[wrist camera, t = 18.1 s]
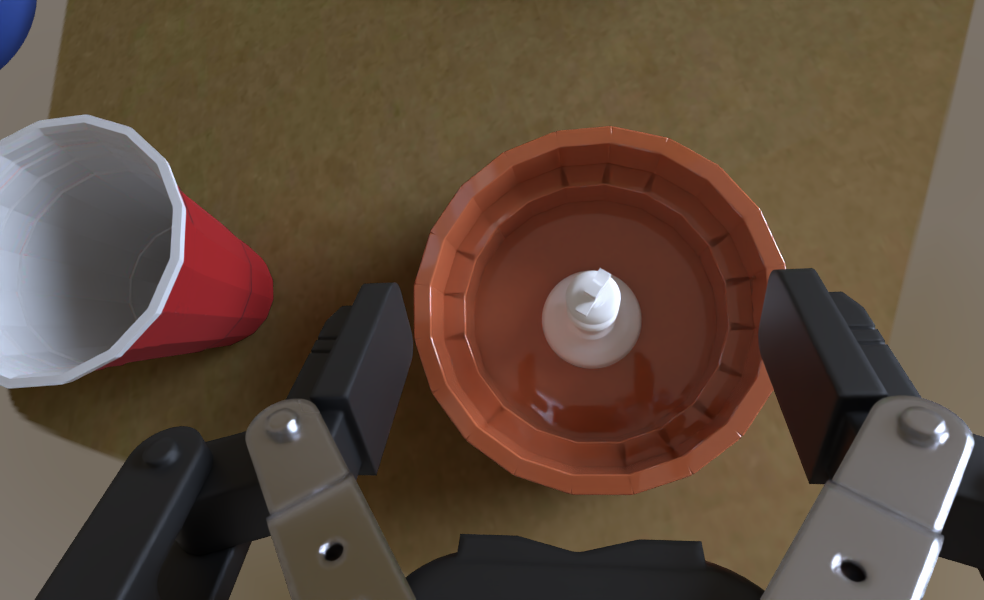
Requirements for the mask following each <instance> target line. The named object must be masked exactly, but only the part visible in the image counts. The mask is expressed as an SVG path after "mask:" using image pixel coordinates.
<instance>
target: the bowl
mask: <svg viewBox="0 0 984 600" xmlns="http://www.w3.org/2000/svg"><path fill="white" fill-rule="evenodd" d="M430 232H431V233H430V234H429V237H428V240H427V243H426V246H425V250H424V253H423V256H422V259H421V263H420V266H419V269H418V273H417V276H416V279H415V282H414V283H415V285H414V339H415V344H416V347H417V350H418V353H419V356H420V359H421V362H422V365H423V368H424V371H425V374H426V377H427V380H428V384H429V387H430V390H431V392H433V396H434V397H435V399H436V400H437V401H438V403H439V404H440V406H441V407H442V408H443V410H444V411H445V412H446V414H447V415H448V417H449V418H450V419H451V421H452V422H453V424H454V425H455V426H456V428H457V429H458V431H459V432H460V433H461V435H462V436H463V437H464V439H466V441H467V442H469V443H470V444H471V445H473V446H474V447H475V448H477V449H478V450H479V451H481V452H482V453H483V454H485V455H486V456H488V457H489V458H490V459H492V460H493V461H494V462H496V463H497V464H498V465H500V466H501V467H502V468H504V469H505V470H507V471H508V472H509V473H511V474H514V476H516V477H519V478H522V479H525V480H528V481H531V482H534V483H537V484H540V485H543V486H546V487H549V488H552V489H556V490H559V491H562V492H565V493H568V494H572V495H633V494H637V493H640V492H643V491H646V490H649V489H653V488H656V487H659V486H662V485H665V484H668V483H671V482H674V481H677V480H680V479H683V478H686V477H689V476H691V475H692V474H695V473H696V472H697V471H699V470H700V469H701V468H703V467H704V466H705V465H707V464H708V463H709V462H710V461H712V460H713V459H714V458H716V457H717V456H718V455H720V454H721V453H722V452H724V451H725V450H726V449H728V448H729V447H730V446H731V445H733V444H734V443H735V442H737V441H738V440H739V439H741V436H744V434H745V433H746V431H747V430H748V428H749V427H750V425H751V423H752V422H753V420H754V419H755V417H756V416H757V414H758V413H759V411H760V410H761V408H762V407H763V405H764V404H765V402H766V401H767V399H768V398H769V396H770V395H771V393H772V392H773V390H774V389H773V386H772V384H771V381H770V378H769V376H768V373H767V371H766V368H765V365H764V363H763V360H762V357H761V354H760V350H759V342H758V330H759V324H760V319H761V314H762V309H763V304H764V299H765V294H766V289H767V284H768V279H769V276H770V273H771V272H772V270H778V269H786V265H785V262H784V260H783V258H782V255H781V253H780V251H779V249H778V247H777V245H776V242H775V240H774V238H773V236H772V234H771V232H770V229H769V227H768V225H767V223H766V221H765V218H764V216H763V214H762V212H761V210H760V209H759V208H758V207H757V205H756V204H755V203H754V202H753V201H752V200H751V199H750V198H749V197H748V196H747V195H746V194H745V193H744V192H743V191H742V189H741V188H740V187H739V186H738V185H737V184H736V183H735V182H734V181H733V180H732V179H731V178H730V177H729V176H728V175H727V173H726V172H725V171H724V170H723V169H722V168H721V167H719V165H717V164H715V163H713V162H711V161H710V160H708V159H706V158H704V157H702V156H701V155H699V154H697V153H695V152H693V151H692V150H690V149H688V148H686V147H684V146H683V145H681V144H679V143H677V142H675V141H674V140H672V139H670V138H666V137H661V136H656V135H652V134H647V133H642V132H637V131H632V130H628V129H623V128H618V127H611V126H606V127H595V128H584V129H573V130H562V131H556V132H552V133H550V134H547V135H545V136H542V137H540V138H537V139H535V140H532V141H530V142H527V143H525V144H522V145H520V146H518V147H515V148H513V149H510V150H508V151H505V152H504V153H502V154H500V155H499V156H498V157H497V158H495V159H494V160H493V161H492V162H490V163H489V164H488V165H487V166H485V167H484V168H483V169H482V170H480V171H479V172H478V173H477V174H475V175H474V176H473V177H472V178H470V179H469V180H468V181H467V182H466V183H464V184H463V185H462V186H461V187H460V188H459V189H458V191H457V192H456V194H455V195H454V197H453V198H452V200H451V201H450V203H449V204H448V206H447V207H446V209H445V210H444V212H443V213H442V214H441V216H440V217H439V219H438V220H437V222H436V223H435V225H434V226H433V228H432V229H431V231H430ZM600 268H601V269H603V270H605V271H607V272H608V273H610V274H611V275H613V276H615V277H617V278H619V279H620V280H622V281H623V282H624V283H625V284H626V285H627V286H628V287H629V288H630V289H631V290H632V292H633V293H634V295H635V297H636V298H637V301H638V303H639V306H640V310H641V316H642V324H641V331H640V334H639V337H638V340H637V342H636V344H635V345H634V347H633V348H632V350H631V351H630V352H629V353H628V354H627V355H626V356H625V357H624V358H623V359H621V360H620V361H618V362H616V363H615V364H612V365H610V366H607V367H603V368H597V369H587V368H581V367H577V366H574V365H572V364H570V363H568V362H566V361H564V360H563V359H562V358H560V357H559V356H558V355H557V354H556V353H555V352H554V351H553V350H552V348H551V347H550V345H549V344H548V342H547V340H546V338H545V335H544V332H543V327H542V312H543V307H544V304H545V301H546V299H547V297H548V295H549V294H550V292H551V291H552V290H553V288H554V287H555V286H556V285H557V284H558V283H559V282H560V281H562V280H563V279H564V278H566V277H568V276H570V275H572V274H574V273H577V272H581V271H590V270H593V271H598V270H599V269H600Z"/></svg>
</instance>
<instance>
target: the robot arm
mask: <svg viewBox="0 0 984 600" xmlns="http://www.w3.org/2000/svg"><path fill="white" fill-rule="evenodd" d="M758 342H759V350H760V354H761V357H762V360H763V363H764V365H765V368H766V371H767V373H768V376H769V378H770V381H771V384H772V386H773V389H774V392H775V394H776V397H777V400H778V402H779V405H780V407H781V410H782V413H783V415H784V418H785V421H786V423H787V426H788V429H789V431H790V434H791V436H792V439H793V442H794V444H795V447H796V450H797V452H798V455H799V458H800V460H801V463H802V466H803V468H804V471H805V473H806V476H807V479H808V481H809V484H825V485H824V487H823V488H822V490H821V492H820V494H819V495H818V497H817V499H816V501H815V503H814V504H813V506H812V508H811V510H810V511H809V513H808V515H807V517H806V519H805V520H804V522H803V524H802V526H801V528H800V529H799V531H798V533H797V535H796V536H795V538H794V540H793V542H792V544H791V545H790V547H789V549H788V551H787V552H786V554H785V556H784V558H783V560H782V561H781V563H780V565H779V567H778V568H777V570H776V572H775V574H774V576H773V577H772V579H771V581H770V583H769V584H768V586H767V588H766V590H765V591H764V590H763V589H762V588H760V587H759V586H757V585H756V584H754V583H753V582H751V581H750V580H748V579H746V578H745V577H743V576H741V575H739V574H737V573H735V572H733V571H731V570H729V569H727V568H724V567H722V566H719V565H717V564H714V563H710V562H707V561H705V558H704V553H703V548H702V542H701V541H671V540H635V541H630V542H626V543H621V544H616V545H612V546H607V547H603V548H598V549H593V550H589V551H584V552H573V551H569V550H565V549H562V548H558V547H555V546H551V545H548V544H544V543H541V542H537V541H534V540H530V539H527V538H523V537H520V536H509V535H477V534H460V540H459V546H458V552H456V553H452V554H449V555H446V556H443V557H440V558H437V559H435V560H433V561H431V562H429V563H427V564H425V565H423V566H421V567H420V568H418V569H417V570H415V571H414V572H412V573H411V574H410V575H408V576H407V577H406V578H405V576H404V574H403V572H402V570H401V568H400V566H399V564H398V562H397V560H396V558H395V556H394V554H393V552H392V550H391V549H390V547H389V545H388V543H387V541H386V539H385V537H384V535H383V533H382V531H381V529H380V527H379V525H378V523H377V521H376V519H375V517H374V515H373V513H372V511H371V509H370V507H369V505H368V503H367V501H366V499H365V497H364V495H363V493H362V491H361V489H360V487H359V485H358V484H357V482H356V480H357V477H358V475H377V471H378V468H379V465H380V462H381V458H382V455H383V452H384V449H385V445H386V442H387V439H388V436H389V432H390V429H391V426H392V423H393V419H394V416H395V413H396V410H397V406H398V403H399V400H400V397H401V393H402V390H403V387H404V384H405V380H406V377H407V374H408V371H409V367H410V364H411V361H412V356H413V337H412V332H411V328H410V324H409V321H408V317H407V313H406V309H405V305H404V302H403V298H402V294H401V290H400V287H399V285H398V284H397V283H370V284H363V285H362V286H361V288H360V290H359V292H358V295H357V297H356V299H355V301H354V303H353V305H352V306H342V307H341V308H340V309H338V310H337V311H336V312H335V313H334V314H333V315H332V316H331V317H330V318H329V319H328V320H326V322H325V324H324V326H323V328H322V330H321V332H320V334H319V336H318V340H316V342H315V344H314V346H313V348H312V350H311V353H309V355H308V357H307V359H306V361H305V363H304V365H303V367H302V369H301V371H300V373H299V375H298V377H297V379H296V381H295V383H294V385H293V386H292V388H291V390H290V392H289V394H288V396H287V398H286V400H283V401H280V402H277V403H275V404H273V405H271V406H269V407H267V408H266V409H264V410H263V411H262V412H260V413H259V414H258V415H257V416H256V417H255V418H254V419H253V420H252V422H251V423H250V425H249V427H248V429H247V431H245V432H242V433H238V434H235V435H231V436H227V437H223V438H219V439H215V440H212V441H208V442H205V441H204V439H203V438H202V436H201V435H200V433H199V432H198V431H197V430H196V429H193V428H191V427H184V426H180V427H173V428H169V429H166V430H163V431H160V432H158V433H156V434H154V435H152V436H151V437H149V438H148V439H146V440H145V441H143V442H142V443H141V444H140V445H139V446H137V447H136V448H135V449H134V451H133V452H132V453H131V454H130V456H129V457H128V458H127V460H126V461H125V463H124V464H123V466H122V468H121V469H120V471H119V472H118V474H117V475H116V477H115V478H114V480H113V481H112V483H111V484H110V486H109V487H108V489H107V490H106V492H105V494H104V495H103V497H102V498H101V499H100V501H99V502H98V504H97V506H96V507H95V509H94V510H93V512H92V513H91V515H90V516H89V518H88V520H87V521H86V522H85V524H84V526H83V527H82V528H81V530H80V531H79V533H78V535H77V536H76V537H75V539H74V541H73V542H72V544H71V545H70V547H69V548H68V550H67V551H66V553H65V554H64V556H63V557H62V559H61V560H60V562H59V563H58V565H57V567H56V568H55V569H54V571H53V573H52V574H51V576H50V577H49V579H48V580H47V582H46V583H45V585H44V586H43V588H42V589H41V591H40V592H39V594H38V595H37V597H36V598H35V600H229V597H230V595H231V592H232V590H233V587H234V584H235V582H236V580H237V577H238V574H239V572H240V570H241V567H242V564H243V562H244V559H245V557H246V554H247V552H248V549H249V546H250V544H251V542H252V541H254V540H258V539H261V538H265V537H268V536H271V537H272V540H273V543H274V546H275V550H276V553H277V556H278V559H279V562H280V565H281V568H282V571H283V574H284V577H285V581H286V584H287V586H288V590H289V593H290V596H291V599H292V600H922V599H923V596H924V593H925V591H926V588H927V585H928V582H929V580H930V577H931V574H932V571H933V569H934V566H935V563H936V561H937V558H938V557H942V558H945V559H948V560H952V561H955V562H959V563H962V564H965V565H969V566H972V567H975V568H978V570H979V572H980V574H981V576H982V578H983V580H984V437H982V436H978V435H975V434H972V433H971V431H970V429H969V427H968V426H967V425H966V424H965V422H964V421H963V420H962V419H960V418H959V417H958V416H957V415H956V414H955V413H953V412H952V411H950V410H949V409H947V408H945V407H943V406H942V405H940V404H937V403H934V402H933V401H930V400H927V399H924V398H921V396H920V395H919V393H918V391H917V390H916V388H915V387H914V385H913V384H912V382H911V381H910V380H909V377H908V376H907V374H906V373H905V371H904V370H903V368H902V367H901V365H900V363H899V362H898V360H897V359H896V357H895V356H894V354H893V353H892V351H891V349H890V348H889V346H888V345H887V344H885V340H884V339H883V337H882V335H881V334H880V332H879V331H878V329H875V325H874V323H873V321H872V320H871V318H870V317H869V315H868V314H867V312H866V311H865V309H864V307H862V306H861V305H860V304H858V303H857V302H855V301H854V300H853V299H851V298H850V297H849V296H847V295H846V294H845V293H843V292H828V291H827V289H826V287H825V286H824V284H823V282H822V280H821V279H820V277H819V275H818V274H817V272H816V271H815V270H814V269H813V268H806V269H778V270H772V272H771V273H770V276H769V279H768V284H767V289H766V294H765V299H764V304H763V309H762V314H761V319H760V324H759V330H758Z"/></svg>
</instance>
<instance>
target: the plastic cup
mask: <svg viewBox="0 0 984 600" xmlns="http://www.w3.org/2000/svg"><path fill="white" fill-rule="evenodd" d="M272 302H273V279H272V277H271V275H270V272H269V270H268V267H267V265H266V263H265V262H264V261H263V259H262V258H261V257H260V256H259V255H258V254H257V253H256V252H254V251H253V250H252V249H251V248H250V247H249V246H248V245H247V244H245V243H244V242H242V241H241V240H240V239H238V238H237V237H236V236H235V235H234V234H232V233H231V232H230V231H229V230H228V229H227V228H226V227H225V226H224V225H223V224H221V223H220V222H219V221H218V220H216V219H215V218H214V217H213V216H211V215H210V214H209V213H208V212H206V211H205V210H204V209H203V208H201V207H200V206H199V205H198V204H196V203H195V202H194V201H193V200H191V199H190V198H189V197H188V196H186V195H185V194H184V193H183V192H182V191H181V189H180V187H179V186H178V185H177V184H176V181H175V179H174V176H173V173H172V171H171V168H170V166H169V164H168V162H167V161H166V159H165V158H164V157H163V156H162V155H160V154H159V153H158V152H157V151H156V150H155V149H154V148H153V147H152V146H151V145H150V144H149V143H148V142H146V141H145V140H144V139H143V138H142V137H141V136H140V135H139V134H138V133H137V132H136V131H135V130H134V129H132V128H131V127H128V126H125V125H121V124H118V123H114V122H111V121H107V120H104V119H101V118H97V117H94V116H90V115H79V116H71V117H64V118H56V119H48V120H40V121H37V122H35V123H33V124H31V125H29V126H27V127H25V128H23V129H21V130H20V131H17V132H16V133H14V134H12V135H10V136H8V137H6V138H4V139H2V140H0V386H3V387H5V388H8V389H10V388H23V387H36V386H49V385H62V384H66V383H70V382H73V381H75V380H77V379H79V378H81V377H83V376H85V375H86V374H88V373H90V372H92V371H95V370H102V369H104V368H106V367H112V366H121V365H124V364H126V363H128V362H135V361H141V360H148V359H154V358H161V357H168V356H174V355H181V354H188V353H194V352H201V351H203V350H205V349H208V348H215V347H221V346H228V345H232V344H234V343H236V342H239V341H240V340H242V339H244V338H246V337H248V336H250V335H252V334H253V333H254V332H255V331H256V330H257V329H258V328H259V327H260V325H261V324H262V323H263V322H264V321H265V319H266V318H267V316H268V313H269V310H270V307H271V305H272Z"/></svg>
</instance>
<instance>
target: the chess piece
mask: <svg viewBox="0 0 984 600" xmlns="http://www.w3.org/2000/svg"><path fill="white" fill-rule="evenodd" d="M641 324H642V316H641V310H640V306H639V303H638V301H637V298H636V297H635V295H634V293H633V292H632V290H631V289H630V288H629V287H628V286H627V285H626V284H625V283H624V282H623V281H622V280H620V279H619V278H617V277H615V276H613V275H611V274H610V273H608V272H607V271H605V270H603V269H601V268H600V269H599V270H598V271H593V270H590V271H581V272H577V273H574V274H572V275H570V276H568V277H566V278H564V279H563V280H562V281H560V282H559V283H558V284H557V285H556V286H555V287H554V288H553V290H552V291H551V292H550V294H549V295H548V297H547V299H546V301H545V304H544V307H543V312H542V327H543V332H544V335H545V338H546V340H547V342H548V344H549V345H550V347H551V348H552V350H553V351H554V352H555V353H556V354H557V355H558V356H559V357H560V358H562V359H563V360H564V361H566V362H568V363H570V364H572V365H574V366H577V367H581V368H587V369H597V368H603V367H607V366H610V365H612V364H615V363H616V362H618V361H620V360H621V359H623V358H624V357H625V356H626V355H627V354H628V353H629V352H630V351H631V350H632V348H633V347H634V345H635V344H636V342H637V340H638V337H639V334H640V331H641Z"/></svg>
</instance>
